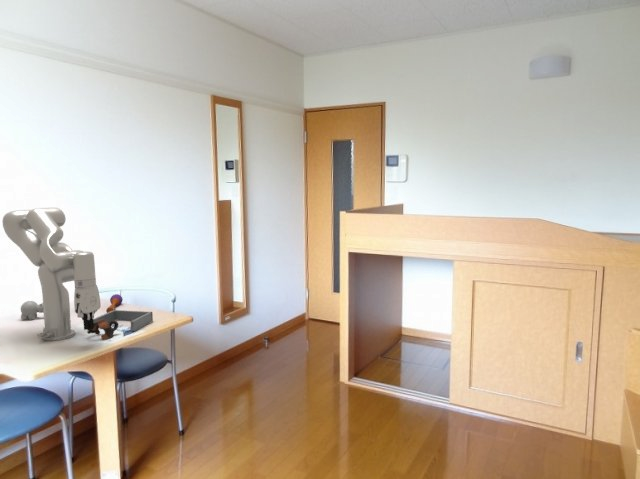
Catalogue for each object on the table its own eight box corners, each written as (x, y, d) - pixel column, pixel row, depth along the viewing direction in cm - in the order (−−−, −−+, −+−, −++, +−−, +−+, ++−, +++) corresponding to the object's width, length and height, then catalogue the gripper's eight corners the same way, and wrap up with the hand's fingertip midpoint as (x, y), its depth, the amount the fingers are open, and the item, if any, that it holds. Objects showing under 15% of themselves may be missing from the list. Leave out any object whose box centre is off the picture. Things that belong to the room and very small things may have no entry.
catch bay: (133, 331, 204) (133, 321, 203) (92, 329, 207) (91, 319, 206) (152, 321, 220) (152, 311, 219) (114, 319, 223) (113, 310, 222)
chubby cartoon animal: (46, 320, 222) (45, 302, 221) (18, 321, 220) (17, 303, 219) (52, 315, 229) (51, 298, 228) (25, 317, 227) (23, 299, 226)
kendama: (101, 306, 232) (110, 294, 251) (105, 317, 233) (113, 304, 252) (114, 303, 233) (121, 291, 252) (117, 314, 234) (124, 302, 253)
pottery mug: (97, 343, 190) (87, 325, 190) (91, 348, 197) (82, 331, 197) (125, 329, 198) (115, 312, 199) (118, 334, 205) (109, 318, 206)
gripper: (81, 287, 178) (85, 335, 180) (105, 279, 193) (108, 324, 194) (63, 287, 179) (67, 334, 181) (88, 279, 194) (92, 323, 196)
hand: (88, 329), depth 188 cm, fingers closed
